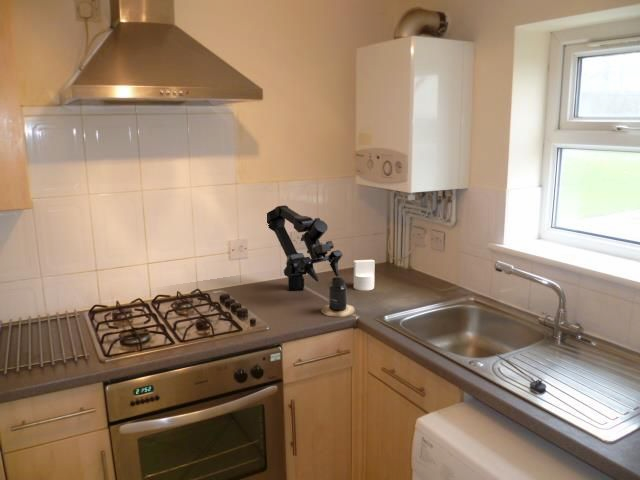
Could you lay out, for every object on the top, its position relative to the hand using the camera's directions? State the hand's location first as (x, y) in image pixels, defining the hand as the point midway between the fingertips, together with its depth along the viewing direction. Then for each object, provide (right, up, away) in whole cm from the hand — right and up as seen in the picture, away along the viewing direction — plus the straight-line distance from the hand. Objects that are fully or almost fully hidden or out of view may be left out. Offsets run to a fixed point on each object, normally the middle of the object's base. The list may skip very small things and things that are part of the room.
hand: (327, 278), depth 214 cm
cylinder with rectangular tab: (+16, -6, +24) cm, 29 cm away
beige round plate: (+4, -12, -5) cm, 14 cm away
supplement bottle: (+4, -11, -5) cm, 13 cm away
